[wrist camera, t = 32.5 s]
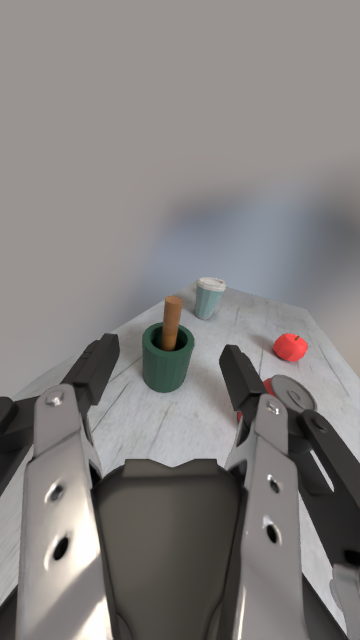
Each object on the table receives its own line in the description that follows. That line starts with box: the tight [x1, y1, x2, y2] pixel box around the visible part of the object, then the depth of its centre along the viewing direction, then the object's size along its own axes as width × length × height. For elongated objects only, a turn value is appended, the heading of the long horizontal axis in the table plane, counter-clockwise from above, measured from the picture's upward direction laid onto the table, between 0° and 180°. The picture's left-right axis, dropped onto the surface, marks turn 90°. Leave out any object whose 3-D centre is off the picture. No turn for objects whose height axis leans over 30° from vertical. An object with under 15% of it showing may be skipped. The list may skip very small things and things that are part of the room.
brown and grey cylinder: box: [160, 296, 183, 352], centre depth 26 cm, size 4×4×18 cm
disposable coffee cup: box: [195, 278, 226, 319], centre depth 52 cm, size 11×11×15 cm
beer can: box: [238, 375, 317, 423], centre depth 22 cm, size 7×7×12 cm
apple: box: [273, 333, 308, 362], centre depth 41 cm, size 8×8×8 cm
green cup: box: [142, 322, 194, 393], centre depth 29 cm, size 10×10×11 cm
